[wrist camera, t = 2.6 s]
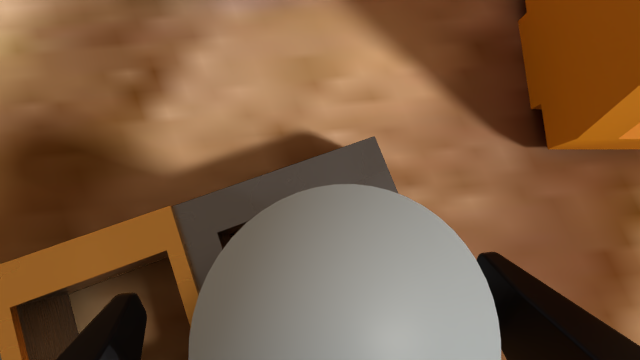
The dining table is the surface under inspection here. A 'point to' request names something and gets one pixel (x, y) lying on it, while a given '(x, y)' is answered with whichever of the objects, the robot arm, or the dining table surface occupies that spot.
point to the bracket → (584, 71)
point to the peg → (345, 285)
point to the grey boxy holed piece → (157, 248)
